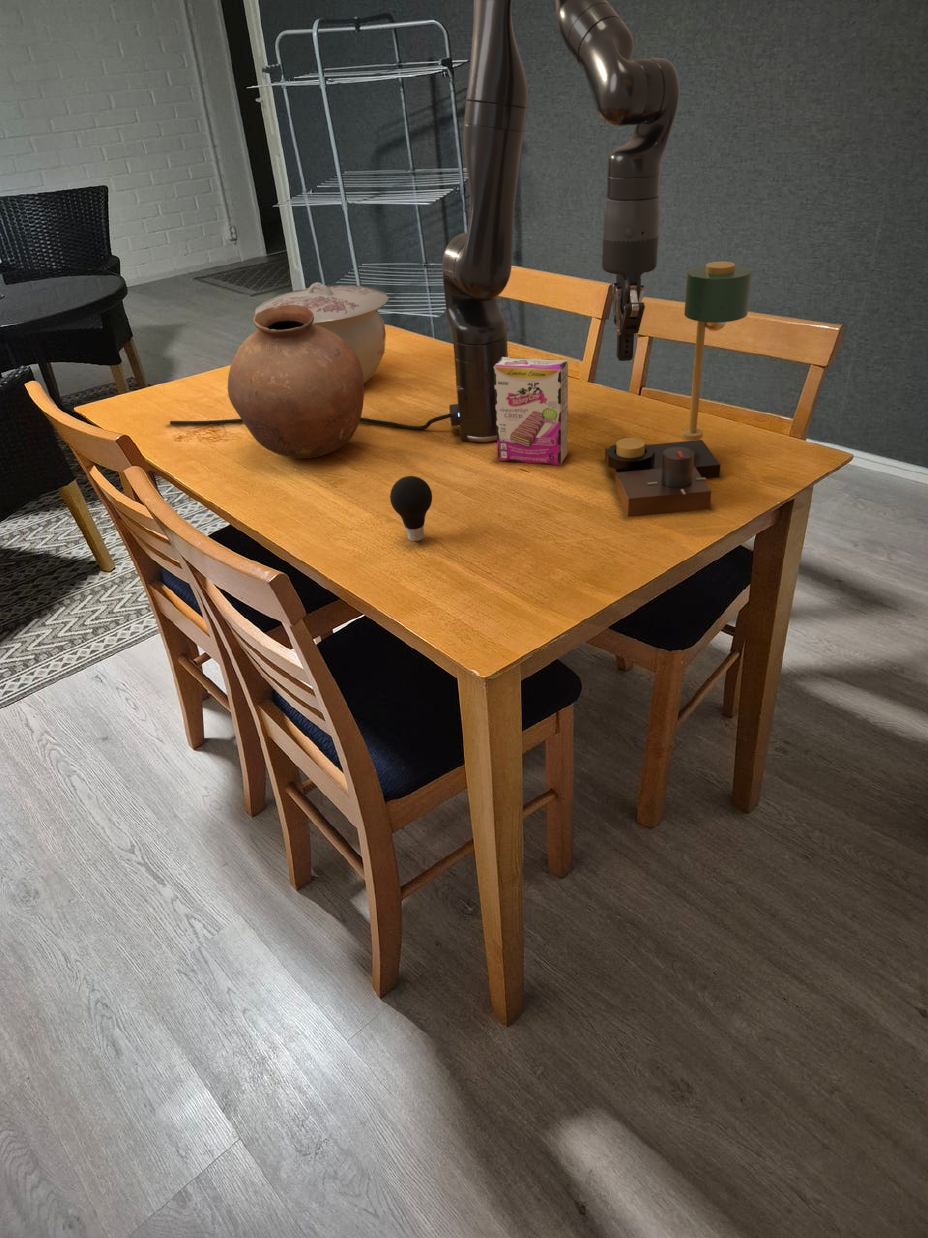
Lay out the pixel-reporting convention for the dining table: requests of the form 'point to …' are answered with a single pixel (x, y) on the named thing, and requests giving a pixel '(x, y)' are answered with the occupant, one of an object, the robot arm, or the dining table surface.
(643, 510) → the dimmer panel
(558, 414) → the candy bar box
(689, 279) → the desk lamp
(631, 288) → the robot arm
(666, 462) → the dimmer knob
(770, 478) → the dining table surface
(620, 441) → the button
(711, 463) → the lamp base
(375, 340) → the chamber pot
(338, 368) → the pottery
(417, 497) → the light bulb
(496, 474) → the dining table surface
